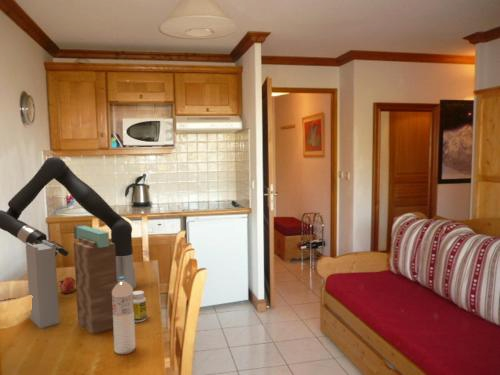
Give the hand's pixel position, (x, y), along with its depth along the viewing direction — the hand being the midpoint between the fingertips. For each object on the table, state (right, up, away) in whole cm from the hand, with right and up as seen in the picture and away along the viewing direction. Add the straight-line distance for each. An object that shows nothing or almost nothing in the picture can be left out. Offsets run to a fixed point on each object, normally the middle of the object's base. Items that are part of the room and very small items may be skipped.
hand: (61, 254), depth 177 cm
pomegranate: (-6, -21, +21) cm, 30 cm away
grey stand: (0, -24, -14) cm, 28 cm away
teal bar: (+20, +8, -19) cm, 29 cm away
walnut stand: (+23, -24, -19) cm, 38 cm away
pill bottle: (+37, -24, -14) cm, 46 cm away
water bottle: (+39, -26, -39) cm, 61 cm away
